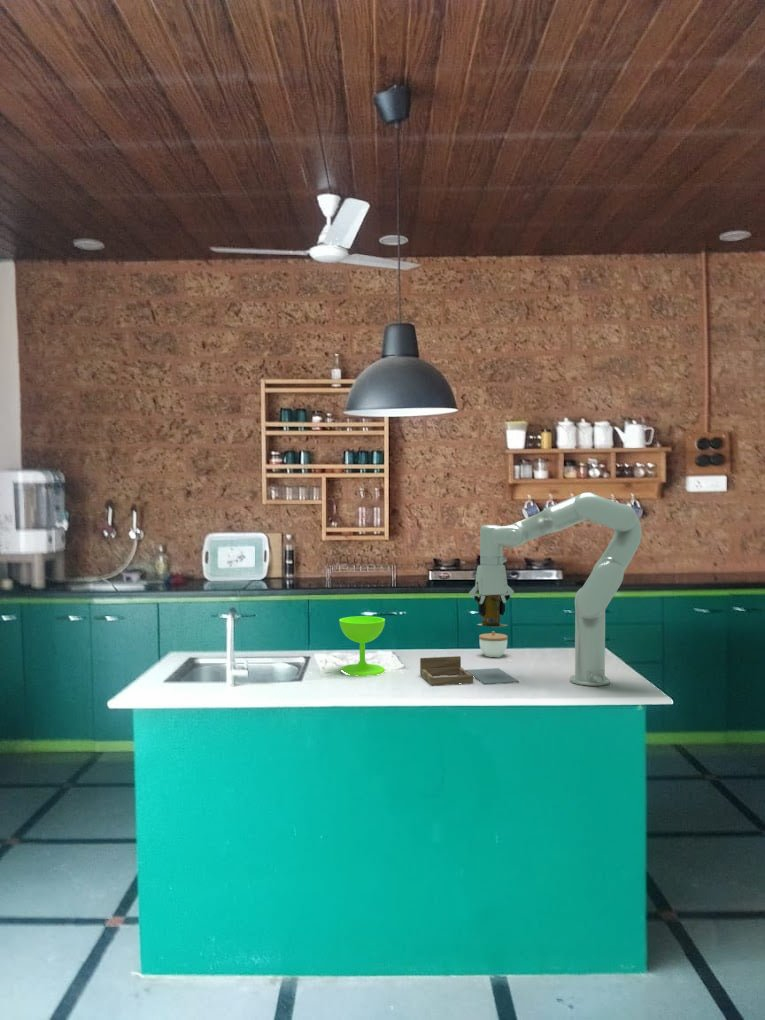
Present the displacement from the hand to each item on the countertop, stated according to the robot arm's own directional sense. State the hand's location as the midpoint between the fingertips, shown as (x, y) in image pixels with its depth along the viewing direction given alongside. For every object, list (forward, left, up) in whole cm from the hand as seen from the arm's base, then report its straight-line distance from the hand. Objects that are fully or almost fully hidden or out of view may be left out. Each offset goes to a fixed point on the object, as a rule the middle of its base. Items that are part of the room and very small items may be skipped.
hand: (491, 614), depth 285 cm
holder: (-1, +16, -21) cm, 27 cm away
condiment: (0, 0, -4) cm, 4 cm away
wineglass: (+18, +41, -21) cm, 50 cm away
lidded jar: (+33, -12, -21) cm, 41 cm away
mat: (0, 0, -21) cm, 21 cm away
